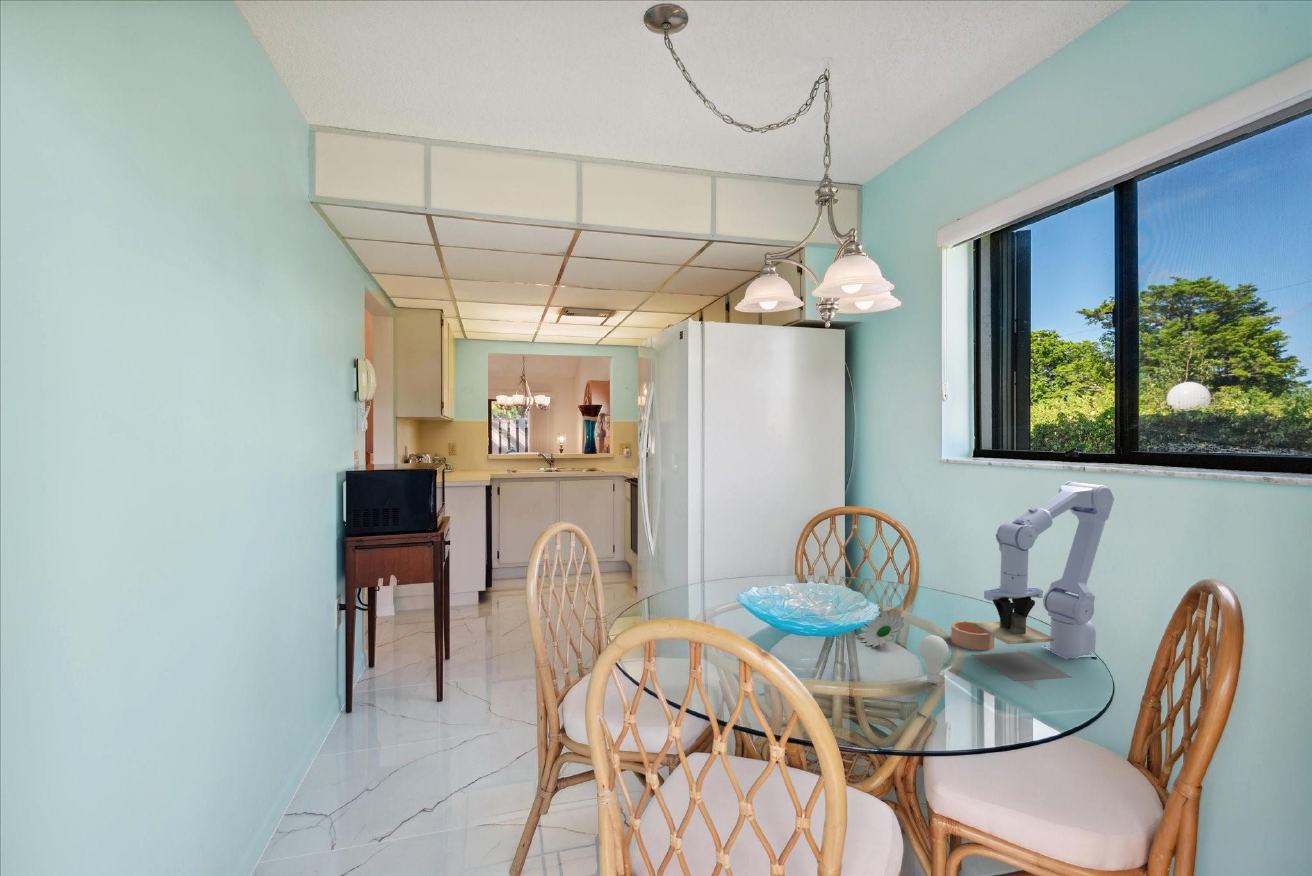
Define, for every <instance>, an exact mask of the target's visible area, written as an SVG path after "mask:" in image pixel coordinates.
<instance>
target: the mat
mask: <svg viewBox="0 0 1312 876" xmlns="http://www.w3.org/2000/svg"><path fill="white" fill-rule="evenodd" d="M971 656H972V657H974V658H976V659H977V660H979V661H980V662H982V663H984V664H985V665H987V666H989V667H990V668H992V669H994V670H995V671H997V672H998V673H1000V674H1002V675H1004V676H1005V677H1006V678H1008V679H1010V680H1011V681H1013V682H1025V681H1037V680H1038V681H1039V680H1051V679H1054V680H1055V679H1068V678H1073V676H1072V675H1070V674H1068V673H1066V672H1064V671H1063V670H1060V669H1058V668H1057V667H1055V666H1053V665H1051V664H1050V663H1047V662H1045V661H1043V660H1041V659H1040V658H1038V657H1036V656H1034V655H1033V654H1030V653H1029V652H1026V651H1015V652H1014V651H1012V652H1011V651H1010V652H999V653H998V652H997V653H996V652H995V653H981V654H978V653H977V654H971Z"/></svg>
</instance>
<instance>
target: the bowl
mask: <svg viewBox="0 0 1312 876" xmlns="http://www.w3.org/2000/svg"><path fill="white" fill-rule="evenodd" d="M974 623H978V622H975V621H969V620H968V621H967V620H960V621H959V620H958V621H957V620H956V621H953V622H952V623H950V641H951V643H953V644H955V645H956V646H957V647H962V648H964V649H968V650H974V651H975V650H976V651H989V650H991V649H993V648H995V637H993V636H991V635H989V634H987V633H985V632H984V631H982V630H980V629H978V628H976V627H974Z"/></svg>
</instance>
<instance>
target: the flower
mask: <svg viewBox="0 0 1312 876" xmlns="http://www.w3.org/2000/svg"><path fill="white" fill-rule="evenodd" d="M876 616H877V617H876V618H875V619H874V620H872V621H871V622H870V623H868V624H865V625H866V626H867V627H865V626H864V627H861V628H860V630H862V631H863V632H862V633H859V634H858V638H861V639H862V640H860V643H865V644H864V646H866V647H869V646H872V648H875V647H876V646H878V645H879V646H880V647H881V646H884V645H885V644H887V643H888V642H892V641H893V640H895V638H896V636H897V635H900V634H901V629H902V628H904V625H905V622H904V619H905V618H904V616H902V615H901V613H900V612H899V611H897V612H894V610H890V612H889V613H888V612H887V611H882V612H880V616H878V615H876Z"/></svg>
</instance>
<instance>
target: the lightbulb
mask: <svg viewBox="0 0 1312 876" xmlns="http://www.w3.org/2000/svg"><path fill="white" fill-rule="evenodd" d="M918 648H919V653H920V655H921V657H922V659H923V661H924V664H925V671H926V679H927V681H928V682H929V683H930V684H932V683H934V684H937V683H939V682H940V675H941V673H942V667H943V665H944V663H945V662H946V660H947V659H948V657H949V652H950V649H949V646H948V643H947V642H946V641H945V640H944V639H943V638H942V637H940V636H938V635H936V634H935V635H934V634H930V635H927V636H924V637H923V638H921V640H920V642H919V647H918ZM934 684H933V685H934Z"/></svg>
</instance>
